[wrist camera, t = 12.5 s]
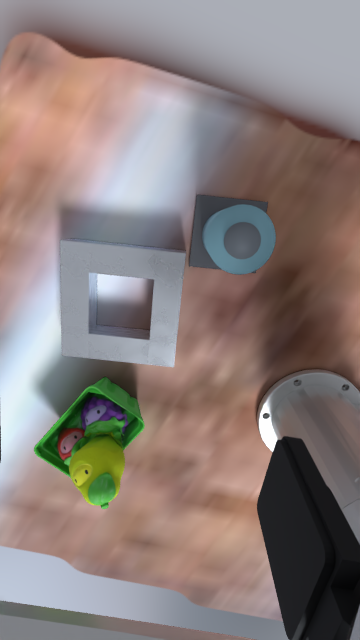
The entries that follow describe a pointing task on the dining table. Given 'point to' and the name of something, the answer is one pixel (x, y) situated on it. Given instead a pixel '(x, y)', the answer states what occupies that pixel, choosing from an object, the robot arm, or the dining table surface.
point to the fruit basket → (94, 440)
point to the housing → (81, 301)
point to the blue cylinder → (239, 238)
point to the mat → (202, 213)
